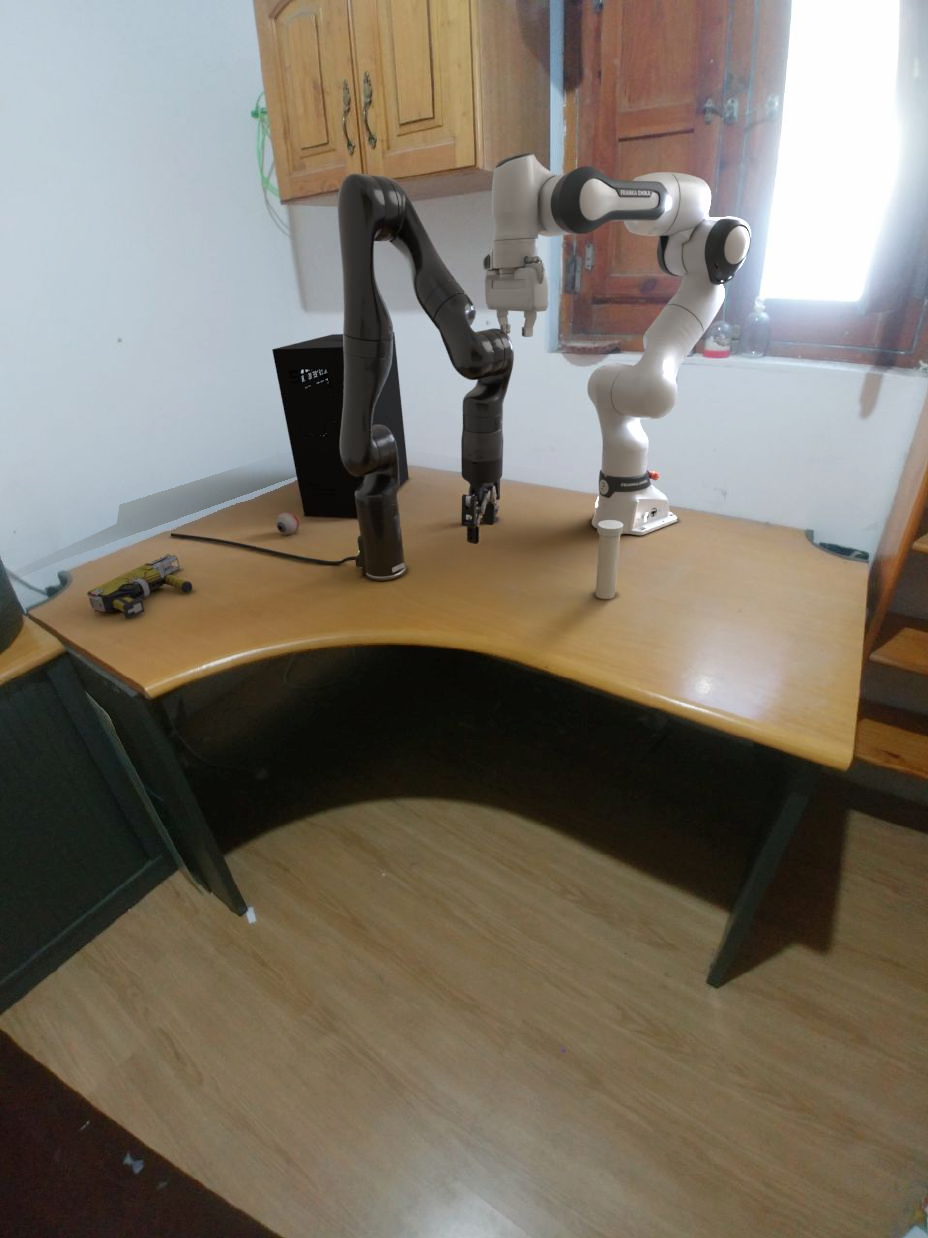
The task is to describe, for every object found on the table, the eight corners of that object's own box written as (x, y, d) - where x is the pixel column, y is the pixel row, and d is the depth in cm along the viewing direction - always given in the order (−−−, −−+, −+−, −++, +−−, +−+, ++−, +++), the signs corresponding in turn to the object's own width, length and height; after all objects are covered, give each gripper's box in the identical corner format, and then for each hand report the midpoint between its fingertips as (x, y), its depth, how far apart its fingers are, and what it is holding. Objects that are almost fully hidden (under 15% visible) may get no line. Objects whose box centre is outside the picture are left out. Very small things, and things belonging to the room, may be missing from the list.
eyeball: (273, 537, 164) (268, 516, 161) (287, 528, 169) (282, 508, 166) (291, 539, 161) (286, 518, 158) (305, 530, 166) (301, 510, 163)
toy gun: (216, 562, 143) (165, 551, 147) (137, 606, 123) (80, 592, 127) (219, 580, 145) (169, 569, 149) (142, 626, 125) (86, 611, 129)
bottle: (612, 600, 124) (618, 531, 116) (593, 597, 125) (597, 528, 118) (617, 592, 127) (622, 524, 119) (598, 589, 128) (602, 521, 121)
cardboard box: (368, 517, 173) (345, 346, 150) (304, 515, 177) (272, 349, 155) (408, 478, 204) (394, 331, 182) (353, 477, 209) (332, 334, 186)
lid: (619, 538, 116) (620, 530, 115) (594, 535, 118) (594, 527, 117) (625, 529, 120) (626, 521, 119) (600, 526, 122) (601, 518, 121)
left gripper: (477, 437, 115) (476, 515, 124) (447, 462, 104) (449, 545, 114) (514, 442, 113) (511, 521, 122) (487, 468, 102) (486, 553, 111)
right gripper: (557, 254, 111) (556, 336, 118) (505, 258, 127) (506, 331, 134) (528, 255, 109) (527, 339, 116) (478, 260, 125) (481, 333, 132)
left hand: (481, 533), depth 118 cm, fingers open, 8 cm apart
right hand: (516, 335), depth 125 cm, fingers open, 8 cm apart
